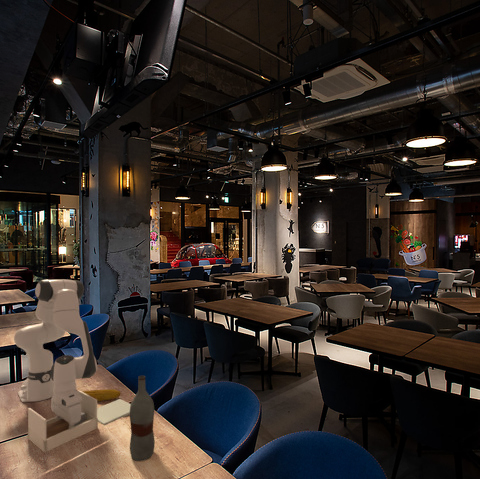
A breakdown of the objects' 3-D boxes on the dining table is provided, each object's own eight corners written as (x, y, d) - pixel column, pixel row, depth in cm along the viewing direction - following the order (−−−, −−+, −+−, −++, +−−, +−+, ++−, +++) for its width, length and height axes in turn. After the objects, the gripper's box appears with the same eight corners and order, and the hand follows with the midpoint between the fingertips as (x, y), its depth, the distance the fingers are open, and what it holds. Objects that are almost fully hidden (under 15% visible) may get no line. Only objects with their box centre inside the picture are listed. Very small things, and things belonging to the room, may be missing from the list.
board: (86, 415, 162) (86, 412, 162) (119, 401, 176) (119, 398, 176) (104, 426, 152) (104, 423, 152) (138, 410, 166) (138, 407, 166)
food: (76, 406, 171) (76, 394, 171) (78, 401, 177) (78, 389, 177) (120, 400, 177) (120, 388, 177) (121, 395, 183) (120, 384, 183)
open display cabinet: (27, 439, 142) (27, 408, 142) (79, 417, 159) (79, 390, 159) (44, 454, 132) (44, 420, 132) (97, 429, 149) (97, 399, 150)
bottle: (130, 464, 125) (130, 383, 125) (128, 451, 133) (127, 374, 134) (156, 458, 129) (156, 378, 129) (152, 445, 137) (152, 370, 137)
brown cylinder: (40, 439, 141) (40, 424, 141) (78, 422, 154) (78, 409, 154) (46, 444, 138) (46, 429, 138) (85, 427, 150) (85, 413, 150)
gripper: (46, 391, 150) (47, 422, 150) (68, 404, 138) (69, 438, 138) (61, 386, 155) (61, 416, 155) (84, 398, 143) (84, 431, 143)
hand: (65, 427), depth 146 cm, fingers open, 8 cm apart
